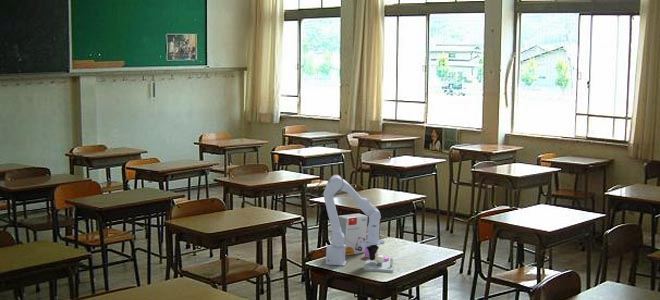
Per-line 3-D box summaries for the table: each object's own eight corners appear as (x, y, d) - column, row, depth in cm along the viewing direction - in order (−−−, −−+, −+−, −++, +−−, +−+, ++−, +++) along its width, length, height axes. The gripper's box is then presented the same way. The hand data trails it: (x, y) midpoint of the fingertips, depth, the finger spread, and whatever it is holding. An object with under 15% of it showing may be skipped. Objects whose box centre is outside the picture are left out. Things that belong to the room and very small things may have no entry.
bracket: (364, 256, 420) (365, 243, 419) (371, 255, 424) (372, 242, 423) (384, 262, 411) (384, 248, 411) (391, 260, 415) (391, 246, 415)
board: (363, 270, 394) (364, 259, 393) (366, 262, 408) (366, 252, 407) (392, 272, 392) (393, 261, 391) (394, 265, 406) (394, 254, 405)
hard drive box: (343, 256, 419) (345, 218, 416) (334, 253, 425) (335, 215, 422) (366, 252, 428) (368, 215, 426) (356, 249, 434) (358, 212, 432)
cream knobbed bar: (384, 262, 398) (384, 257, 398) (376, 263, 397) (377, 257, 397) (378, 257, 408) (378, 252, 407) (370, 257, 407) (370, 252, 406)
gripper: (368, 236, 395) (367, 263, 396) (389, 233, 404) (387, 259, 406) (358, 233, 400) (357, 260, 401) (379, 230, 409) (377, 256, 411)
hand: (371, 259), depth 404 cm, fingers closed, pressing on cream knobbed bar
